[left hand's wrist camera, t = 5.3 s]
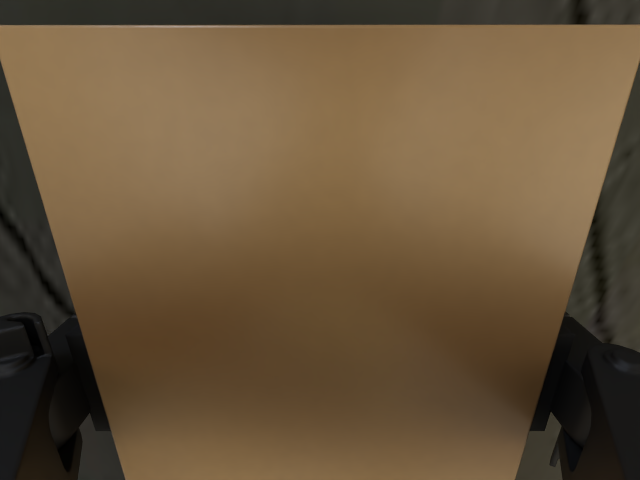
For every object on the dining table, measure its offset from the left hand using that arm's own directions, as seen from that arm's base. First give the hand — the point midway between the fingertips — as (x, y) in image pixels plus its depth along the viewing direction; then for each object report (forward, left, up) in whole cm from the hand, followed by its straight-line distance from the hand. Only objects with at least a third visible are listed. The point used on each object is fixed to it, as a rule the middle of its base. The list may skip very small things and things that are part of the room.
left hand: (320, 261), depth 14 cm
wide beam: (+13, +23, 0) cm, 27 cm away
